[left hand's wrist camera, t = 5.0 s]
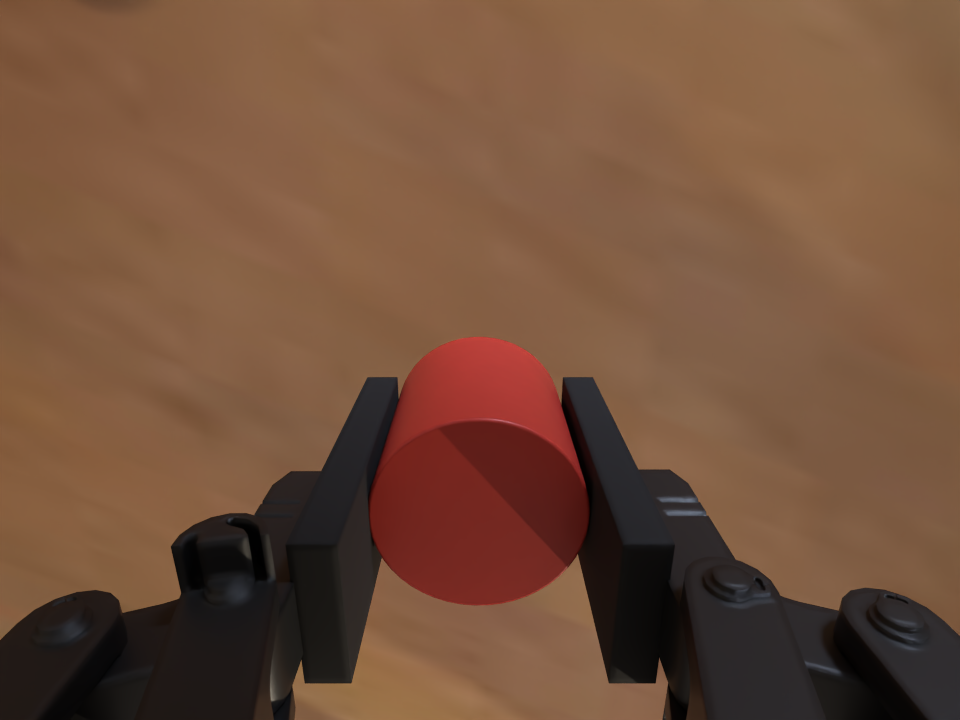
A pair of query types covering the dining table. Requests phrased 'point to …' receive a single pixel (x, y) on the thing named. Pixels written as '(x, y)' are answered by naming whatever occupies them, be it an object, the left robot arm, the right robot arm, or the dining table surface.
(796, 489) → the dining table surface
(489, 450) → the canister
